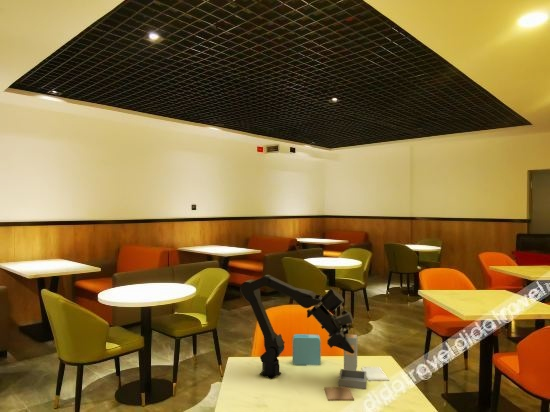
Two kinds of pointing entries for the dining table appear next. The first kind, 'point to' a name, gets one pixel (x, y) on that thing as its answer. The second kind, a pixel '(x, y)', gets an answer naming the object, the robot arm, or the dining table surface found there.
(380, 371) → the hard drive
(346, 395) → the walnut pad
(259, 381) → the dining table surface
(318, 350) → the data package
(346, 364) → the labelled box
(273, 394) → the dining table surface
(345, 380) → the parts bin
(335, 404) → the dining table surface
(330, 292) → the robot arm
